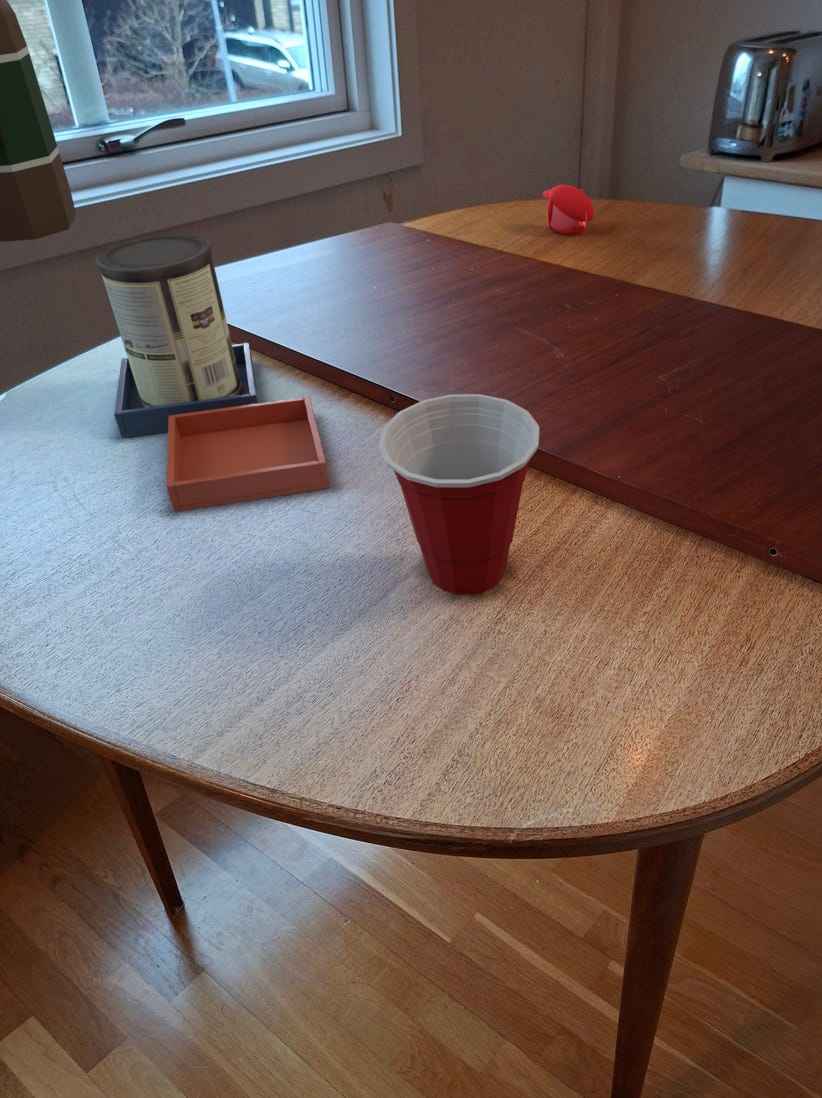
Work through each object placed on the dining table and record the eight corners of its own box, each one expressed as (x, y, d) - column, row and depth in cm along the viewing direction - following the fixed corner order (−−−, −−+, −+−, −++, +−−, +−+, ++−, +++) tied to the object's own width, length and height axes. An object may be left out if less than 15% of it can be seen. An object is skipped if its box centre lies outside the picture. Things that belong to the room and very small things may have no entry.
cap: (599, 227, 129) (602, 182, 125) (586, 239, 125) (588, 193, 121) (548, 221, 132) (549, 178, 128) (534, 233, 127) (534, 188, 123)
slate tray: (121, 438, 84) (114, 414, 82) (128, 380, 94) (121, 358, 92) (260, 418, 86) (255, 395, 84) (253, 364, 96) (248, 342, 94)
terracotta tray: (174, 512, 74) (166, 486, 72) (175, 439, 83) (168, 415, 82) (330, 488, 76) (326, 462, 74) (313, 419, 86) (309, 396, 84)
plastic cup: (373, 607, 63) (352, 461, 55) (420, 525, 71) (408, 387, 63) (519, 630, 61) (519, 481, 53) (551, 543, 69) (555, 401, 61)
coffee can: (166, 370, 94) (127, 231, 85) (257, 375, 93) (228, 234, 83) (120, 414, 86) (73, 267, 77) (219, 420, 85) (182, 271, 76)
